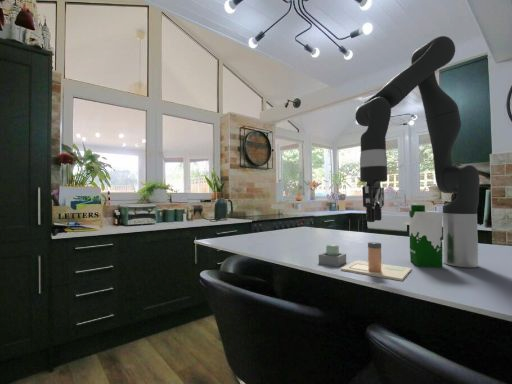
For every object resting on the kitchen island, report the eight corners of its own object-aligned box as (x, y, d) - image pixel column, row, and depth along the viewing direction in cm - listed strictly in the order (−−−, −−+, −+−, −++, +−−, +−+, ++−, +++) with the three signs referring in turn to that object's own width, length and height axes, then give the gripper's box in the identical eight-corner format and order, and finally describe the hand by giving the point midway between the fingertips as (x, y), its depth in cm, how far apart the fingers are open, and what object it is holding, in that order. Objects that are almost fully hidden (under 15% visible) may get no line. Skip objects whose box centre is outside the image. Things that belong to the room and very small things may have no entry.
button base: (327, 259, 97) (327, 251, 97) (346, 262, 93) (346, 253, 93) (318, 263, 92) (318, 254, 92) (338, 266, 88) (338, 257, 88)
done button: (329, 255, 95) (329, 244, 96) (340, 256, 93) (340, 245, 93) (324, 257, 92) (324, 245, 92) (335, 259, 90) (335, 247, 90)
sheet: (356, 261, 94) (356, 260, 94) (411, 270, 83) (411, 267, 83) (341, 270, 83) (341, 268, 83) (402, 280, 72) (402, 278, 72)
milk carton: (406, 260, 95) (405, 204, 95) (435, 262, 93) (433, 205, 94) (416, 267, 86) (415, 205, 87) (447, 268, 85) (446, 205, 85)
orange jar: (370, 268, 83) (369, 241, 83) (383, 270, 80) (382, 243, 80) (366, 270, 80) (366, 243, 80) (379, 272, 77) (379, 244, 78)
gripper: (379, 162, 73) (381, 223, 72) (392, 167, 84) (393, 220, 84) (352, 165, 78) (353, 222, 77) (367, 169, 89) (368, 219, 88)
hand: (374, 220), depth 80 cm, fingers open, 6 cm apart
